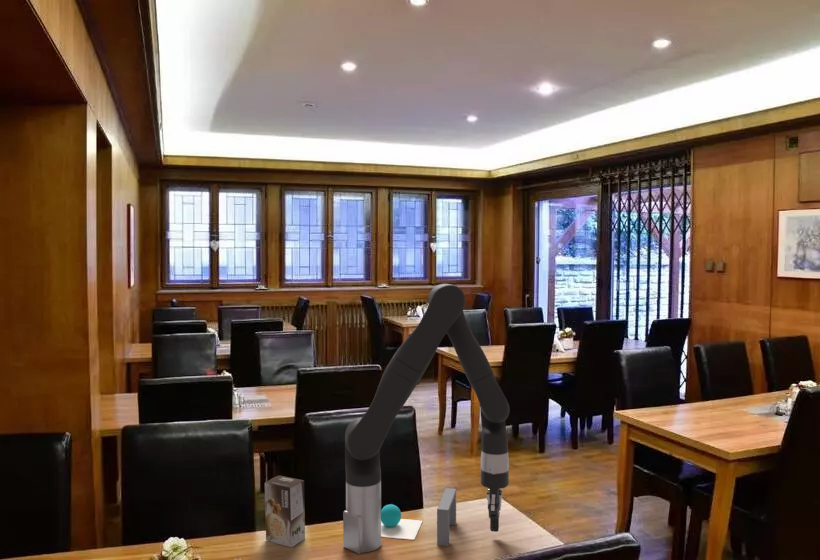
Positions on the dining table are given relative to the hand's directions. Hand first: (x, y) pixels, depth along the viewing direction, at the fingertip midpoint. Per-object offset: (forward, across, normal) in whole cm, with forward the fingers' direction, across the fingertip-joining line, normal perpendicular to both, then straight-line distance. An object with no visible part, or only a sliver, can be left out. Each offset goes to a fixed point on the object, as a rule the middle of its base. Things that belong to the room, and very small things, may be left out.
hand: (494, 530), depth 168 cm
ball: (-1, -1, -29) cm, 29 cm away
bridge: (+2, 0, -13) cm, 13 cm away
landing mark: (+2, 0, -27) cm, 27 cm away
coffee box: (+2, +13, -55) cm, 57 cm away
